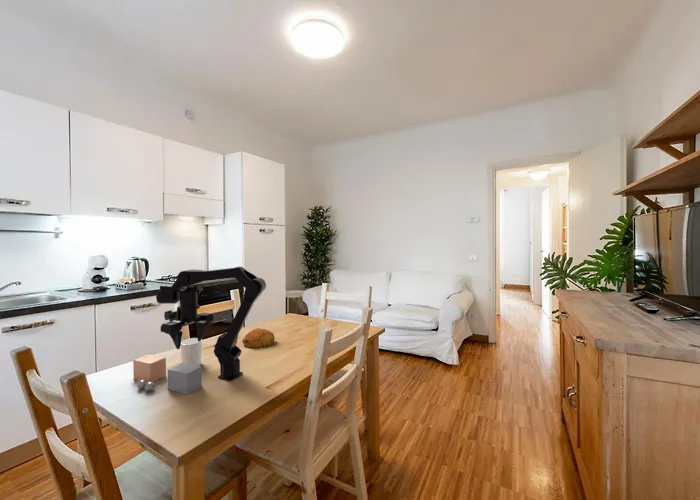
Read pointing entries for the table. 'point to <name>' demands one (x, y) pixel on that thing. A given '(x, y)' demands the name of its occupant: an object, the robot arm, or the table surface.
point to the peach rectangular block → (149, 368)
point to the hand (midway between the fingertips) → (189, 344)
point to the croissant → (258, 338)
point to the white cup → (191, 351)
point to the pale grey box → (184, 378)
